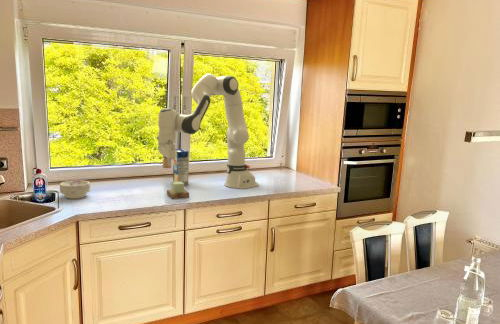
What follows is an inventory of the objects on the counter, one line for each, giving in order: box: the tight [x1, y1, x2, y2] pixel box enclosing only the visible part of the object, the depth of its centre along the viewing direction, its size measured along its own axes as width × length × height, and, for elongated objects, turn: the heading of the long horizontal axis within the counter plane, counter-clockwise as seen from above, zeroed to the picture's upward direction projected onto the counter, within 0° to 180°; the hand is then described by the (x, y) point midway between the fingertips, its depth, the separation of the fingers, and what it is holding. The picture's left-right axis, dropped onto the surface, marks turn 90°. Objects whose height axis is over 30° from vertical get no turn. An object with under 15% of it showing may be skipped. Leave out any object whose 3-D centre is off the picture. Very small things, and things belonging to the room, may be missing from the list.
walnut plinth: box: [166, 188, 190, 200], centre depth 220 cm, size 10×10×2 cm
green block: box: [171, 182, 185, 193], centre depth 219 cm, size 6×6×5 cm
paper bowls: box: [59, 179, 91, 200], centre depth 209 cm, size 15×15×8 cm
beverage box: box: [172, 148, 190, 187], centre depth 245 cm, size 7×11×22 cm, turn 27°
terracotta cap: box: [162, 157, 172, 169], centre depth 204 cm, size 4×4×5 cm
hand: (167, 164), depth 204 cm, fingers closed on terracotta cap, 4 cm apart
